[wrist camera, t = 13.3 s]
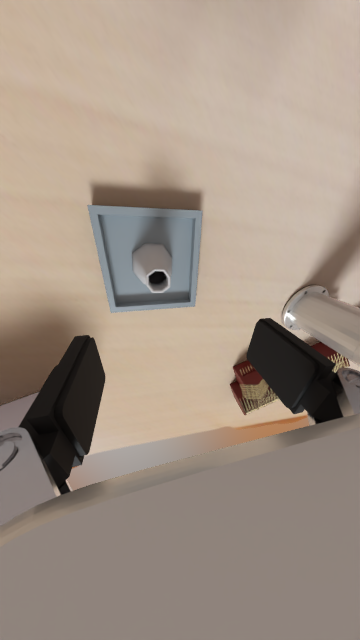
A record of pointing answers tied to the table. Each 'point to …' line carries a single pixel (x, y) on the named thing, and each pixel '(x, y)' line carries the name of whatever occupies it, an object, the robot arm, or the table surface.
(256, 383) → the toy houses
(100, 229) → the tray
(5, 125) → the table surface
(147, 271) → the flask
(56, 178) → the table surface
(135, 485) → the robot arm
